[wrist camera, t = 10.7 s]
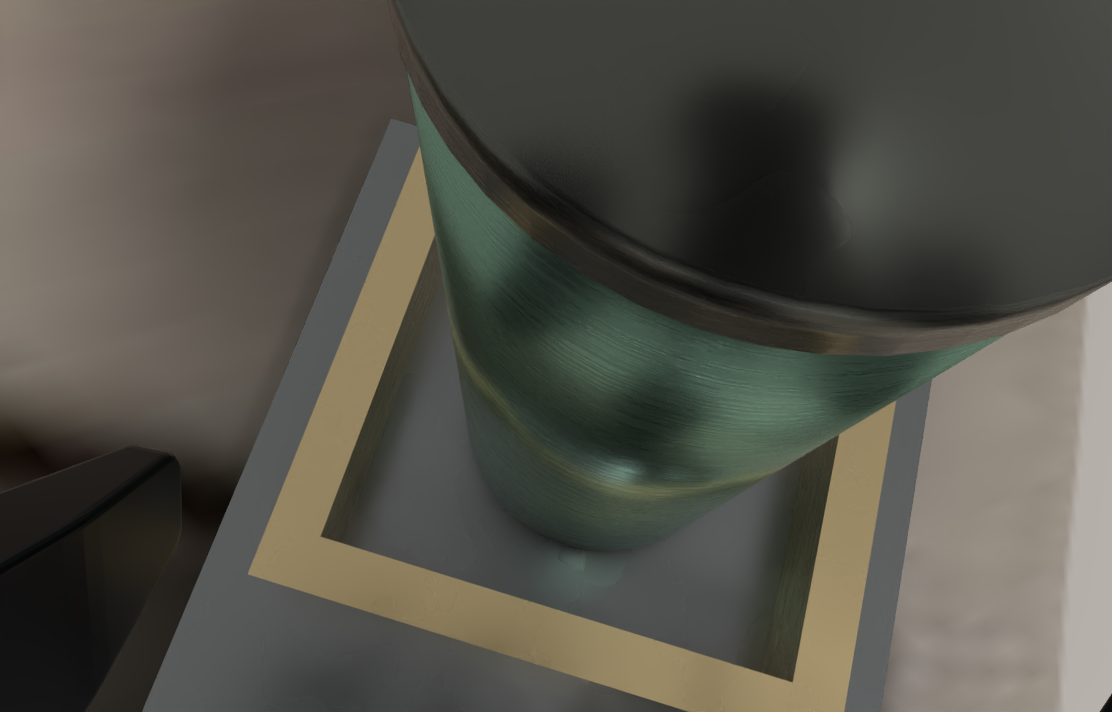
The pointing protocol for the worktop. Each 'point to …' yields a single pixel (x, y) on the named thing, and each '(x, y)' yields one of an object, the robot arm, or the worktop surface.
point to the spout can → (740, 225)
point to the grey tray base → (513, 540)
